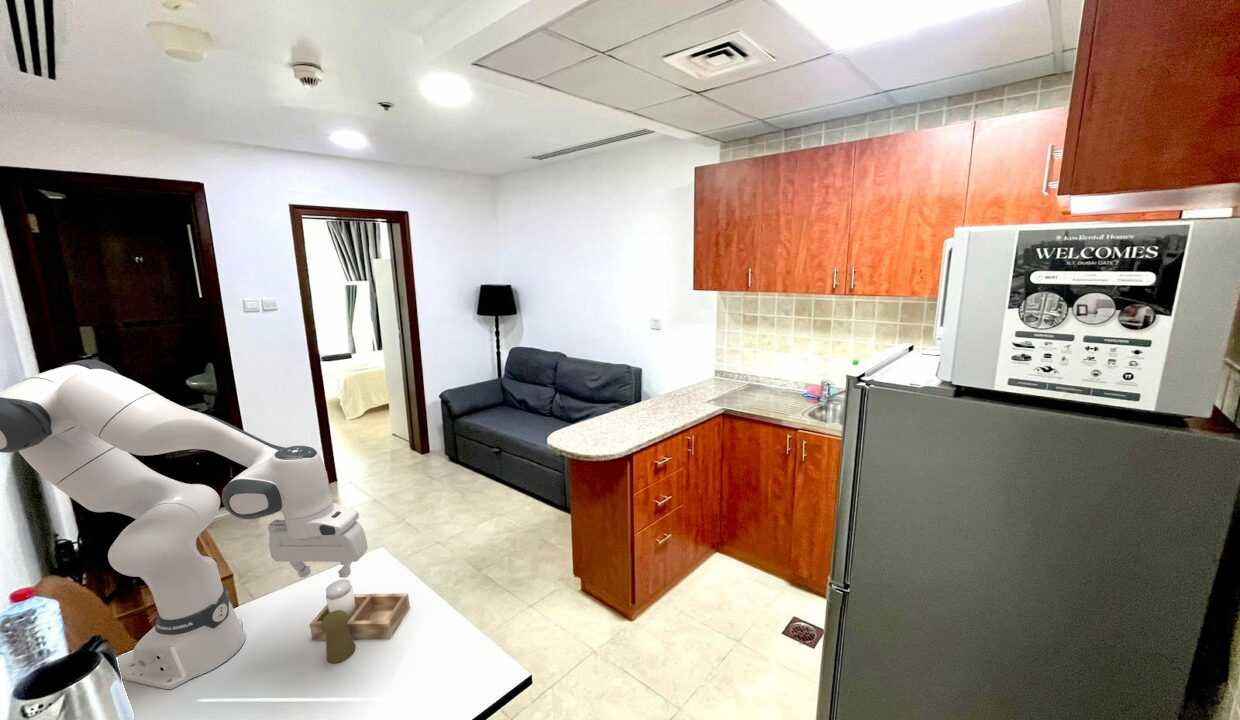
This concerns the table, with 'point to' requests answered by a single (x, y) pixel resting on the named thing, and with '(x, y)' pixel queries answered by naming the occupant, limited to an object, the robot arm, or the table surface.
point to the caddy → (370, 616)
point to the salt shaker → (341, 597)
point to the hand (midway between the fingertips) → (325, 575)
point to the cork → (337, 637)
